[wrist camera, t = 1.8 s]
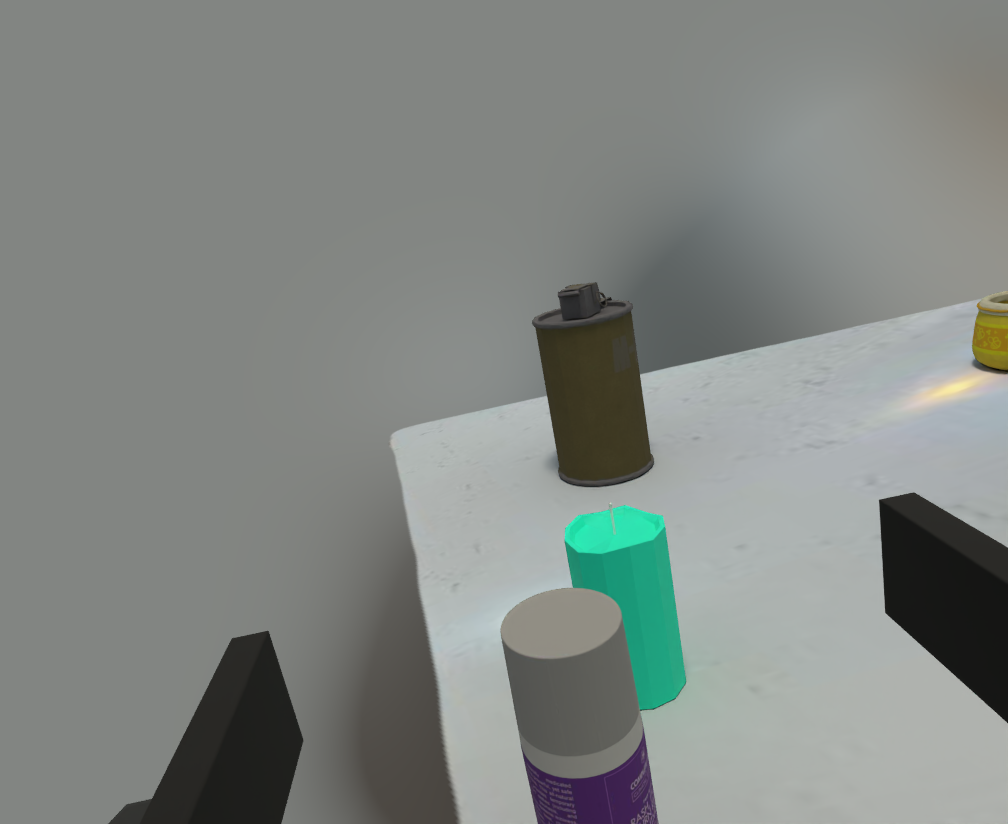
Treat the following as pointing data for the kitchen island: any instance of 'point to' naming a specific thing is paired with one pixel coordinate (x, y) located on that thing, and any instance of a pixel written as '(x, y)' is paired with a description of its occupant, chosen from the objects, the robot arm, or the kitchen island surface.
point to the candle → (633, 591)
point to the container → (578, 709)
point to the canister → (594, 388)
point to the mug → (992, 331)
